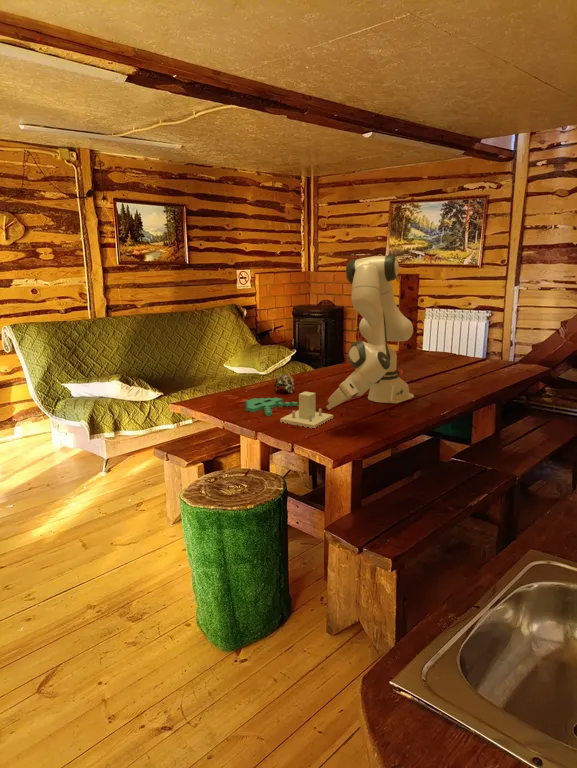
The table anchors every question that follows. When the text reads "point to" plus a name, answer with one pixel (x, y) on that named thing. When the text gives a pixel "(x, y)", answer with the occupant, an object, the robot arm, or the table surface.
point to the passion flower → (285, 382)
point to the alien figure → (266, 404)
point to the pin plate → (310, 422)
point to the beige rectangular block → (307, 404)
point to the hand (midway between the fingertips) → (333, 405)
